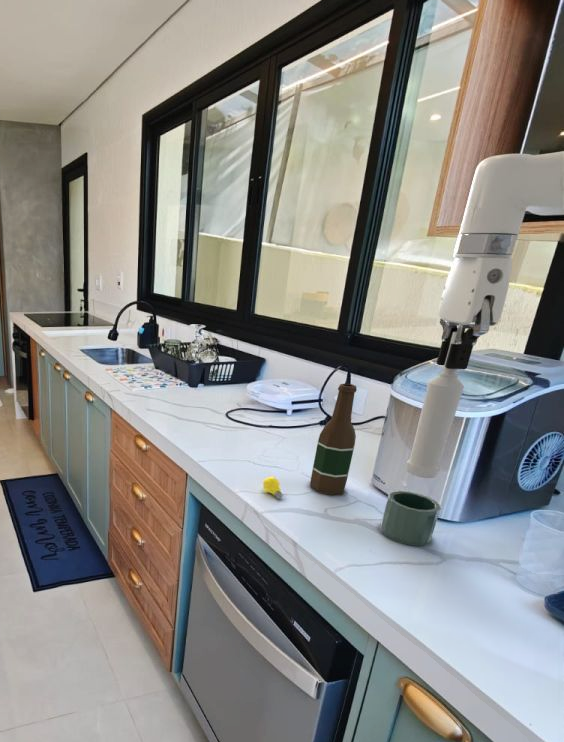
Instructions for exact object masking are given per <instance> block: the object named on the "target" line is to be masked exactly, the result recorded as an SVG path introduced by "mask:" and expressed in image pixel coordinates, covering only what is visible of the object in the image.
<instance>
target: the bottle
mask: <svg viewBox="0 0 564 742" xmlns="http://www.w3.org/2000/svg"><path fill="white" fill-rule="evenodd" d="M456 334H457V332H453V334H452V338H451V342H450V346H451V344H455V337H456ZM449 350H450V347H449ZM449 350H448V353H449ZM447 357H448V354H447ZM447 357H446V361H447ZM446 361H445V364H446ZM457 372H458V369H448V368H446V367H445V365H443V369H442V371H441V372H439V374H438V375H437V376H436V377H434V378H432V379H430V380H428V382H427V387H426V391H425V395H424V399H423V403H422V407H421V412H420V415H419V419H418V424H417V428H416V432H415V437H414V440H413V445H412V448H411V452H410V457H409V459H407V462H406V472H407V473H408V474H410V475H412V476H415V477H418V478H423V479H434V478H436V477H437V476H438V475H439V473H440V469H441V466H440V463H441V460H442V456H443V454H444V450H445V448H446V445H447V441H448V438H449V435H450V432H451V429H452V426H453V422H454V419H455V417H456V413H457V410H458V406H459V403H460V401H461V397H462V395H463V391H464V388H465V386H464V384H463V383H462V381H460V379H459V377H458V376H459V375H458V374H457Z"/></svg>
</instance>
